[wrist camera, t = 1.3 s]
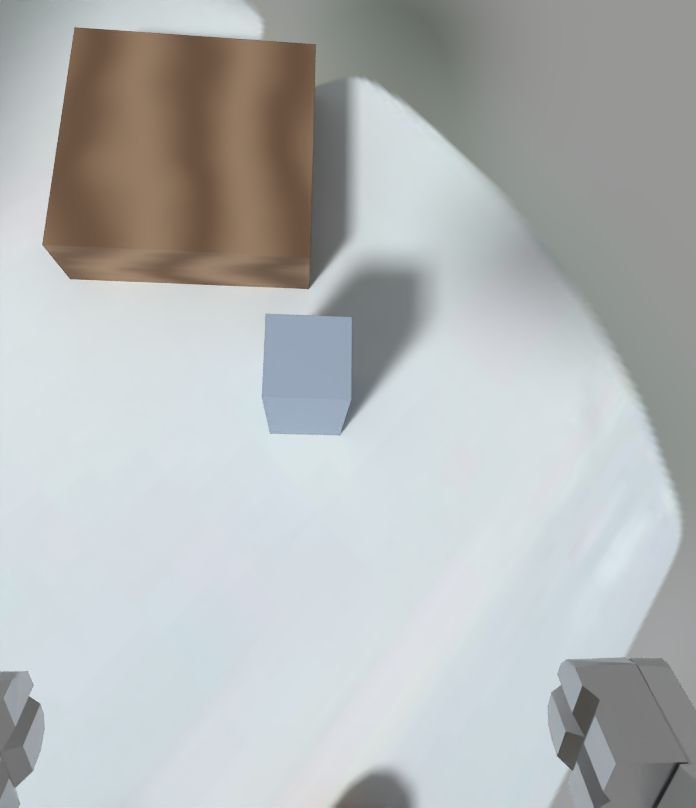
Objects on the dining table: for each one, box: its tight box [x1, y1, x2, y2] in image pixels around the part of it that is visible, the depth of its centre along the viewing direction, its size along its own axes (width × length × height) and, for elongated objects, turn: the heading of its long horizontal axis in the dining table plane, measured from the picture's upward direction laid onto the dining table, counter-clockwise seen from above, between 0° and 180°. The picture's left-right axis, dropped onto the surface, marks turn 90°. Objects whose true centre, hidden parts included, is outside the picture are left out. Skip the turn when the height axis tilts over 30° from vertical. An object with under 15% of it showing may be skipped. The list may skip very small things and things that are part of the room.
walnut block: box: [42, 28, 316, 289], centre depth 41 cm, size 16×16×5 cm
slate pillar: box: [262, 314, 352, 435], centre depth 35 cm, size 4×4×9 cm
